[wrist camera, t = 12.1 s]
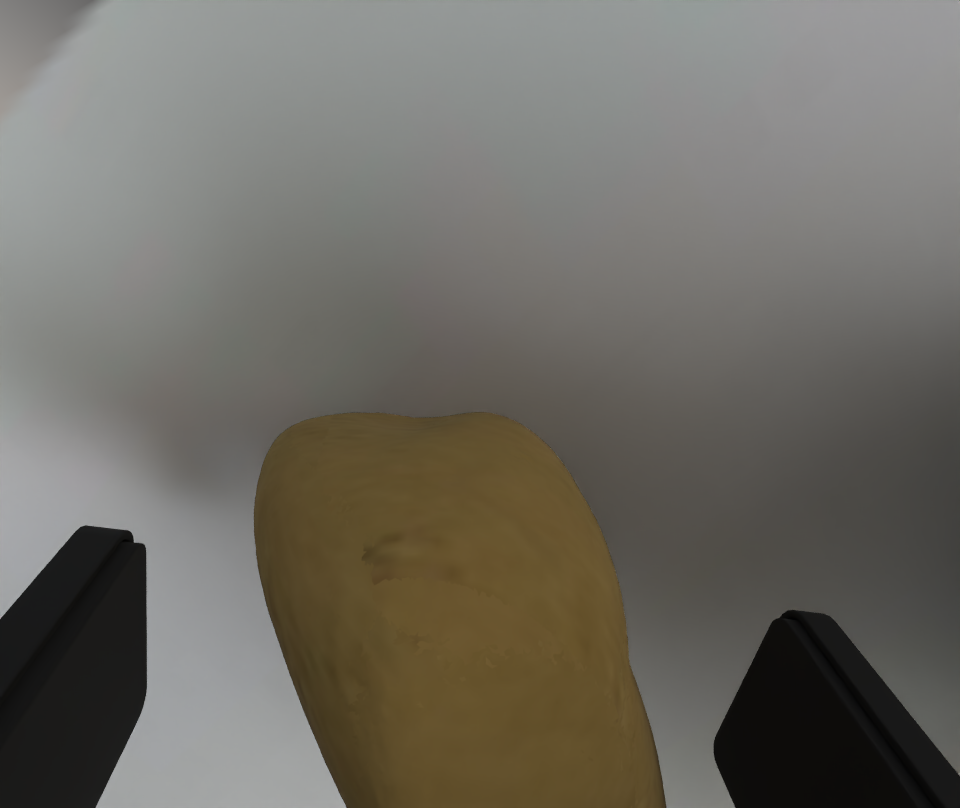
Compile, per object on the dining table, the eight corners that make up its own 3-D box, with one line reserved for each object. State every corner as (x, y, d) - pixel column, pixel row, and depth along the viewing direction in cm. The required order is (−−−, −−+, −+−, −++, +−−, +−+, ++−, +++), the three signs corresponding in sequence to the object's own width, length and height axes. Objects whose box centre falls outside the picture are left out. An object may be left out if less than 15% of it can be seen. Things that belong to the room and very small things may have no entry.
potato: (348, 273, 11) (176, 579, 4) (711, 435, 13) (1087, 860, 5) (226, 577, 13) (-27, 1131, 6) (546, 678, 15) (651, 1203, 8)
